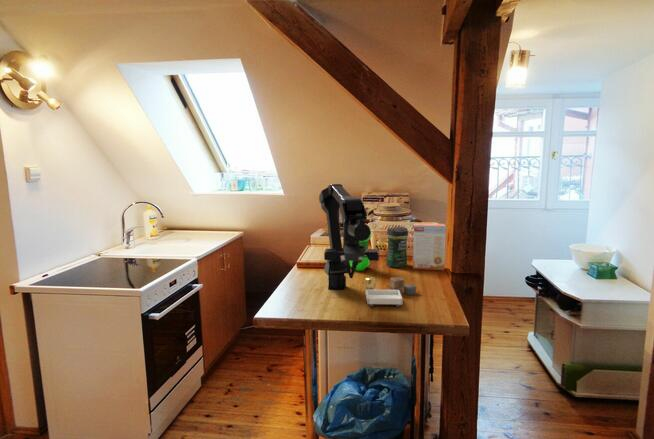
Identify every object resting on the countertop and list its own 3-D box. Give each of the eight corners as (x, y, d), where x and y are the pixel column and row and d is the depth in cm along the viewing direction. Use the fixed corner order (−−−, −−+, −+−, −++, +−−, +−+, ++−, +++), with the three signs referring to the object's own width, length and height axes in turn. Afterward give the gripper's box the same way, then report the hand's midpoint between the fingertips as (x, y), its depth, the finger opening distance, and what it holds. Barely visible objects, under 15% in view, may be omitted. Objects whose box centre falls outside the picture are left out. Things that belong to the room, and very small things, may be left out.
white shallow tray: (367, 307, 134) (367, 298, 134) (365, 297, 143) (365, 289, 143) (402, 307, 134) (402, 298, 133) (398, 298, 143) (398, 289, 142)
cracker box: (443, 267, 182) (445, 223, 179) (444, 271, 177) (446, 225, 173) (412, 265, 185) (414, 222, 182) (412, 269, 180) (414, 224, 176)
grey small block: (405, 296, 146) (405, 288, 146) (403, 292, 150) (403, 284, 150) (416, 296, 146) (417, 288, 145) (414, 292, 150) (415, 284, 150)
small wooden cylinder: (365, 295, 147) (365, 280, 146) (364, 291, 151) (364, 276, 150) (375, 295, 147) (376, 280, 146) (375, 291, 151) (375, 276, 150)
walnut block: (393, 296, 146) (394, 280, 145) (389, 292, 150) (390, 277, 149) (403, 295, 147) (404, 280, 146) (399, 291, 151) (400, 276, 150)
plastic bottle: (348, 265, 186) (348, 213, 182) (370, 266, 185) (371, 213, 181) (347, 271, 176) (347, 217, 172) (370, 272, 175) (371, 217, 171)
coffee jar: (394, 269, 180) (395, 229, 177) (383, 265, 187) (384, 226, 183) (410, 266, 184) (411, 227, 181) (399, 262, 191) (400, 224, 188)
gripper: (323, 239, 128) (323, 285, 130) (380, 240, 127) (379, 286, 129) (324, 232, 139) (325, 275, 141) (377, 233, 138) (376, 275, 140)
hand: (351, 278), depth 138 cm, fingers closed
